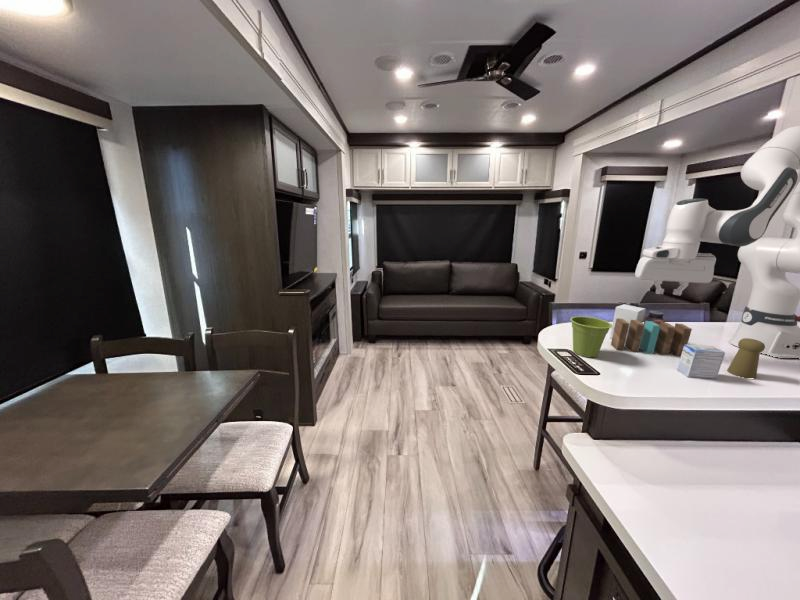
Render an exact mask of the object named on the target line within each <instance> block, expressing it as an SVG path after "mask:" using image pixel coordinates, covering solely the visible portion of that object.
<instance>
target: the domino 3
mask: <svg viewBox="0 0 800 600" xmlns="http://www.w3.org/2000/svg"><path fill="white" fill-rule="evenodd" d="M659 330H660V326H659V325H657V324H656V323H654V322H652V321H646V322H645V326H644V330H643V334H642V338H641V342H640V346H639V349H640V350H641V351H643V352H644V353H645V354H651V355H654V352H655V350H654V349H655V345H656V341H657V337H658V333H659Z"/></svg>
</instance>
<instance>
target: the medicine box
mask: <svg viewBox="0 0 800 600" xmlns="http://www.w3.org/2000/svg"><path fill="white" fill-rule="evenodd" d="M725 355H726V352H725V351H724V350H722V349H719V348H718V347H715V346H714V345H702V344H699V345H698V344H687V345H684V348H683V351H682V354H681V357H679V361H678V365H677V368H676V370H677V372H678V373H679V372H680V373H681V374H682V375H683V376H685V377H687V378H699V379H700V378H701V379H717V378H718V376H719V373H720V369H721V367H722V364H723V360H724V358H725Z"/></svg>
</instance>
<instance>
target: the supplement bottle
mask: <svg viewBox="0 0 800 600" xmlns="http://www.w3.org/2000/svg"><path fill="white" fill-rule="evenodd" d="M663 317H664V313H663V312H661V311H658V310H657V311H656V310H649V314H648V316H644V319H643V324H644V325H645V322H646V321H652V322H654V323H656V324H657V325H659V326H660V322H665V323H666V319H664V318H663Z"/></svg>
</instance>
